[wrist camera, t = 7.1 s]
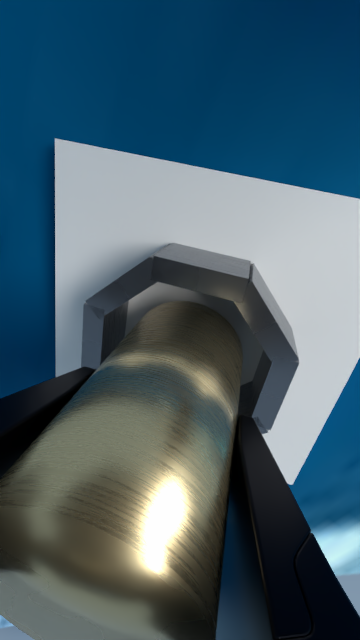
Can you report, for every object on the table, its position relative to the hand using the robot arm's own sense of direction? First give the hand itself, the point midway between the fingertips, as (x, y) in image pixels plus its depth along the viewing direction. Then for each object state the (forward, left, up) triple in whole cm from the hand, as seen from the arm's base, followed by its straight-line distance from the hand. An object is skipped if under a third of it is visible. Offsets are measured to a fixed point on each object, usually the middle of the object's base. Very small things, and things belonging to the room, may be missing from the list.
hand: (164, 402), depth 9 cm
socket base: (0, 0, -6) cm, 6 cm away
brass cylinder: (0, 0, -3) cm, 3 cm away
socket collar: (0, 0, -4) cm, 4 cm away
